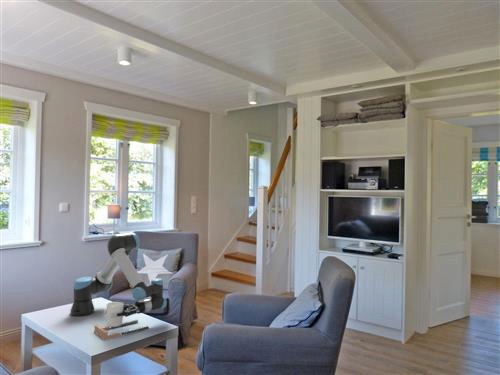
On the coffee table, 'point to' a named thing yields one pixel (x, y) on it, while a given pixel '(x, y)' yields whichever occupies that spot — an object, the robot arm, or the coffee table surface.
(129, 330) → the guide rails
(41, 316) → the coffee table surface
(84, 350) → the coffee table surface
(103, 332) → the orange u-shaped bracket
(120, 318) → the candle holder
